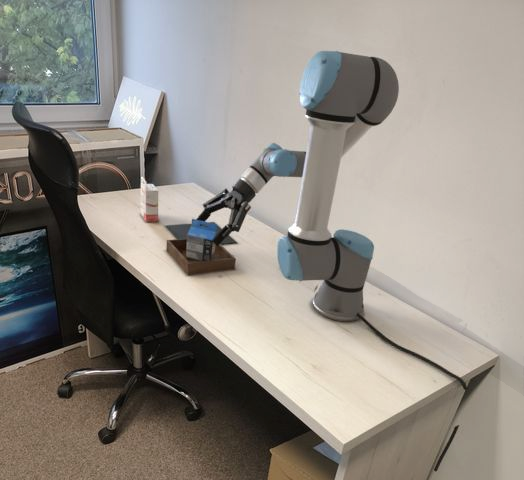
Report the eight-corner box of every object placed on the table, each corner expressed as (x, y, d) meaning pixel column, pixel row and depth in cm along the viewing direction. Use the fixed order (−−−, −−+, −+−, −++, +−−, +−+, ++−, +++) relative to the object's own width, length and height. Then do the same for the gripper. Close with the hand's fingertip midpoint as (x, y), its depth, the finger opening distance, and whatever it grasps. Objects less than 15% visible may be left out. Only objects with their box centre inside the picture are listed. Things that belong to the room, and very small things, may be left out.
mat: (236, 243, 175) (237, 242, 175) (185, 248, 166) (185, 247, 166) (213, 222, 189) (213, 222, 189) (165, 226, 179) (165, 225, 179)
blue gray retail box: (185, 258, 158) (186, 222, 151) (189, 253, 161) (191, 218, 154) (210, 264, 157) (213, 228, 150) (214, 259, 160) (217, 224, 153)
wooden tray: (234, 269, 157) (235, 258, 155) (187, 275, 149) (188, 263, 147) (211, 246, 170) (211, 236, 168) (166, 250, 162) (166, 239, 160)
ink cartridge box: (158, 221, 182) (159, 182, 174) (145, 222, 180) (145, 182, 172) (153, 213, 188) (153, 175, 180) (140, 214, 186) (139, 175, 178)
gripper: (275, 207, 150) (230, 257, 151) (234, 181, 166) (193, 227, 166) (264, 191, 144) (216, 243, 145) (222, 166, 160) (179, 214, 160)
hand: (204, 235), depth 155 cm, fingers open, 13 cm apart
